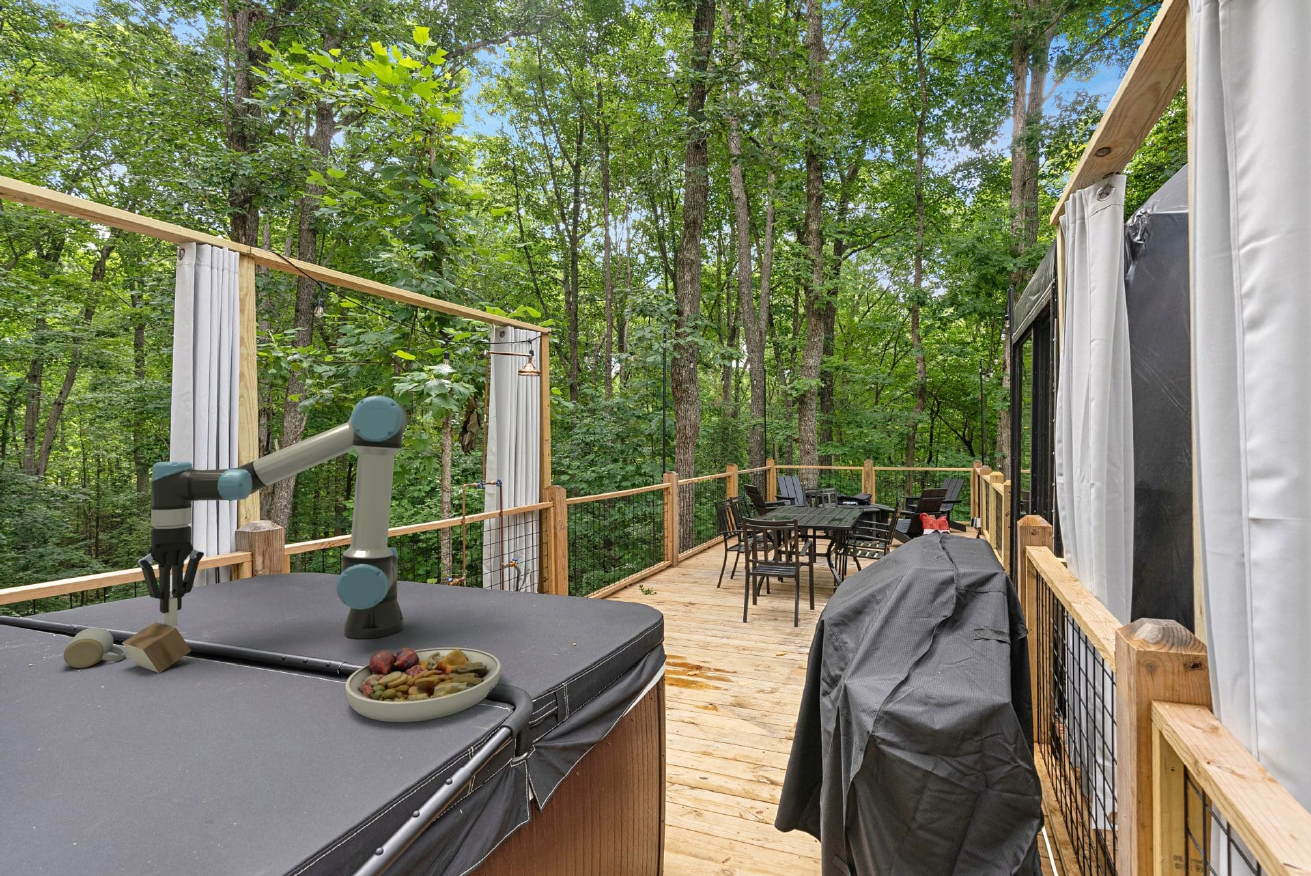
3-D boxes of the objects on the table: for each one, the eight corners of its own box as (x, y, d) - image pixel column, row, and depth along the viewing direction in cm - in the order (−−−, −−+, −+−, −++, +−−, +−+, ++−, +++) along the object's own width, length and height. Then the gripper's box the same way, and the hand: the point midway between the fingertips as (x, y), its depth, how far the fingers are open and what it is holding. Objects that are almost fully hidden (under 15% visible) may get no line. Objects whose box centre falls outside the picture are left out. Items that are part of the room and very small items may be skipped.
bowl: (527, 678, 133) (527, 643, 133) (436, 741, 105) (437, 696, 105) (418, 662, 143) (418, 629, 143) (309, 715, 115) (309, 674, 115)
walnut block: (176, 627, 138) (142, 649, 133) (191, 650, 141) (159, 673, 135) (155, 621, 143) (121, 642, 137) (170, 644, 146) (138, 665, 140)
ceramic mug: (60, 672, 135) (62, 638, 135) (70, 661, 142) (72, 629, 142) (122, 664, 141) (123, 631, 141) (129, 654, 148) (130, 623, 148)
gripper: (194, 522, 149) (194, 616, 149) (130, 528, 138) (129, 630, 137) (210, 524, 146) (209, 620, 145) (145, 530, 134) (144, 635, 134)
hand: (170, 625), depth 141 cm, fingers closed
